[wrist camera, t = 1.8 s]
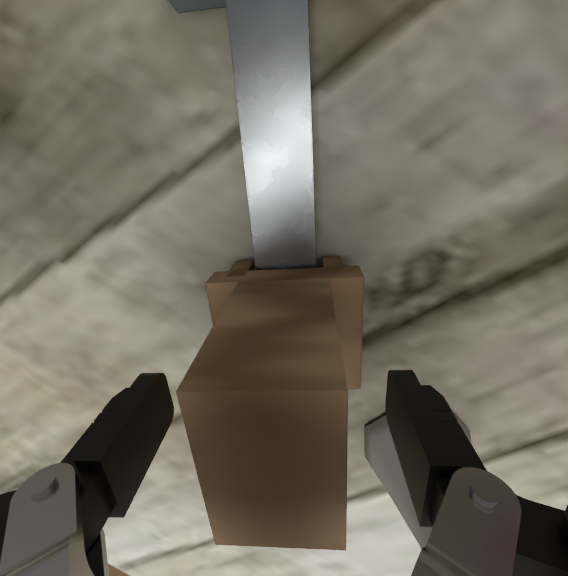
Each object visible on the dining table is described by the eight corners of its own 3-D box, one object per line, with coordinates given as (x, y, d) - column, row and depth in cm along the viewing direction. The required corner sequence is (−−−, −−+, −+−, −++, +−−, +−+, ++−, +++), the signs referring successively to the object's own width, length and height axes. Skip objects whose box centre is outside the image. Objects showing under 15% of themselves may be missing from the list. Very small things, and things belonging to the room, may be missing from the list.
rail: (307, -4, 13) (306, -97, 8) (319, 379, 20) (322, 444, 16) (235, 5, 13) (195, -79, 8) (273, 379, 20) (263, 443, 16)
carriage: (354, 255, 16) (417, 390, 7) (352, 352, 18) (397, 552, 9) (223, 261, 17) (116, 391, 7) (237, 354, 19) (169, 542, 10)
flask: (347, 418, 21) (376, 615, 12) (454, 387, 20) (582, 589, 10) (380, 484, 24) (426, 692, 14) (479, 462, 22) (600, 680, 13)
